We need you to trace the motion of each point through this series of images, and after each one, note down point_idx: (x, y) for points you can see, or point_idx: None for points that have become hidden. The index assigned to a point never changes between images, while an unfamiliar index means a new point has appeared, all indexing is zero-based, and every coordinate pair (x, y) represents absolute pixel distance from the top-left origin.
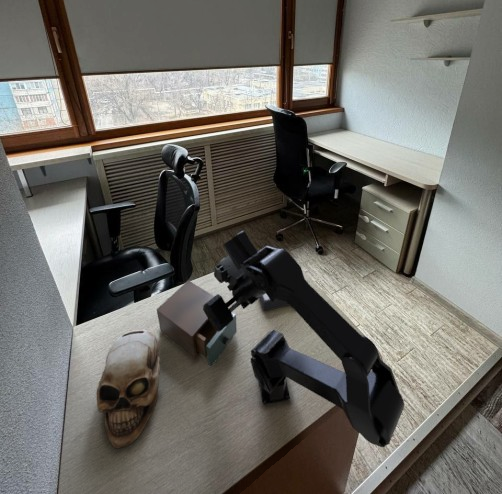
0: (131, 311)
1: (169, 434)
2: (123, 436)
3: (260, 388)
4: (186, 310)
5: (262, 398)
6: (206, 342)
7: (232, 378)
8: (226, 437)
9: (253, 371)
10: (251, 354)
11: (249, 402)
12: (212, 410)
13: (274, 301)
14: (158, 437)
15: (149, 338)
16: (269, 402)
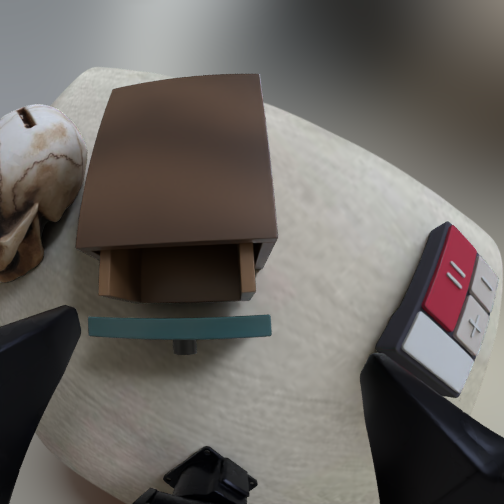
0: (151, 76)
1: None
2: None
3: (181, 464)
4: (147, 148)
5: (168, 474)
6: (164, 275)
7: (153, 394)
8: (77, 432)
9: (141, 495)
10: (155, 496)
11: (145, 451)
12: (83, 386)
13: (414, 368)
14: (15, 314)
15: (19, 153)
16: (174, 487)
